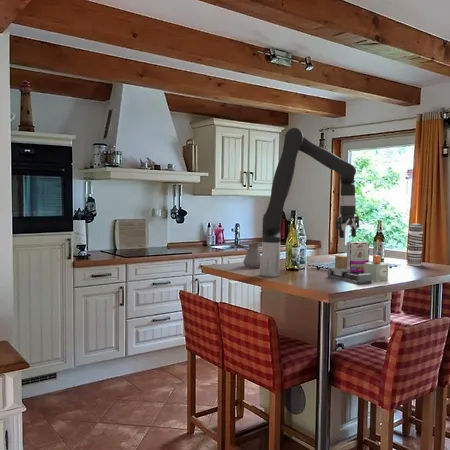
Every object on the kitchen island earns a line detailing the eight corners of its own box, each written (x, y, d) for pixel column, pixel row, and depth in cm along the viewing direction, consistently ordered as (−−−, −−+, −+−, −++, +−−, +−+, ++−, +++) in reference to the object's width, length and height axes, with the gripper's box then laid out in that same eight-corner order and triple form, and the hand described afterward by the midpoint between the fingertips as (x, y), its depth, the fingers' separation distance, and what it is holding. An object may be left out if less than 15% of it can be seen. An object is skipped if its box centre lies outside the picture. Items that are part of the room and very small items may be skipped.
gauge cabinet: (376, 281, 231) (377, 265, 230) (363, 278, 238) (364, 262, 238) (388, 280, 235) (389, 264, 234) (375, 277, 242) (376, 261, 241)
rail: (359, 284, 222) (359, 275, 221) (327, 276, 241) (328, 267, 241) (371, 283, 226) (372, 273, 225) (339, 275, 245) (340, 266, 245)
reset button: (376, 264, 234) (376, 256, 233) (371, 263, 237) (371, 255, 236) (381, 263, 235) (381, 255, 235) (376, 262, 238) (376, 254, 238)
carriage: (339, 276, 234) (340, 257, 233) (331, 274, 239) (332, 255, 239) (350, 275, 238) (350, 256, 237) (341, 273, 243) (342, 254, 242)
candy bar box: (364, 271, 261) (365, 241, 260) (368, 272, 256) (369, 242, 255) (345, 271, 259) (346, 241, 258) (349, 273, 254) (350, 242, 253)
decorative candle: (418, 263, 293) (420, 223, 291) (424, 266, 284) (426, 224, 282) (403, 263, 293) (405, 223, 291) (409, 265, 284) (411, 224, 282)
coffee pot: (254, 265, 275) (254, 239, 274) (267, 267, 266) (268, 241, 265) (225, 268, 262) (225, 241, 261) (238, 271, 253) (238, 243, 252)
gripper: (351, 204, 242) (351, 235, 243) (332, 205, 234) (331, 237, 235) (363, 204, 236) (363, 237, 237) (343, 205, 228) (343, 238, 229)
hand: (347, 237), depth 236 cm, fingers open, 8 cm apart
